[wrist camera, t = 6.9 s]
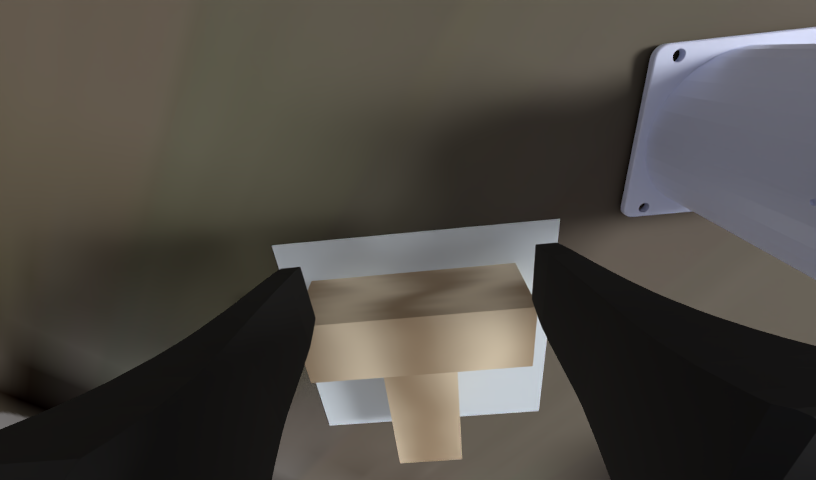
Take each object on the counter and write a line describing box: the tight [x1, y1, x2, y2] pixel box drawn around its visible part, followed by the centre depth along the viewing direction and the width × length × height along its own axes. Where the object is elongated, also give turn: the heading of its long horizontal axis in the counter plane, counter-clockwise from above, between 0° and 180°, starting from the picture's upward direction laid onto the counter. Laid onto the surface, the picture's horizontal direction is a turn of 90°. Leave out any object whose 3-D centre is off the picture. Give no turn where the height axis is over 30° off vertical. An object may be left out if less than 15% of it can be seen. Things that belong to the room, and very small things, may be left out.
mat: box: [272, 218, 560, 425], centre depth 23 cm, size 16×16×1 cm
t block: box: [305, 263, 537, 463], centre depth 22 cm, size 12×12×4 cm
